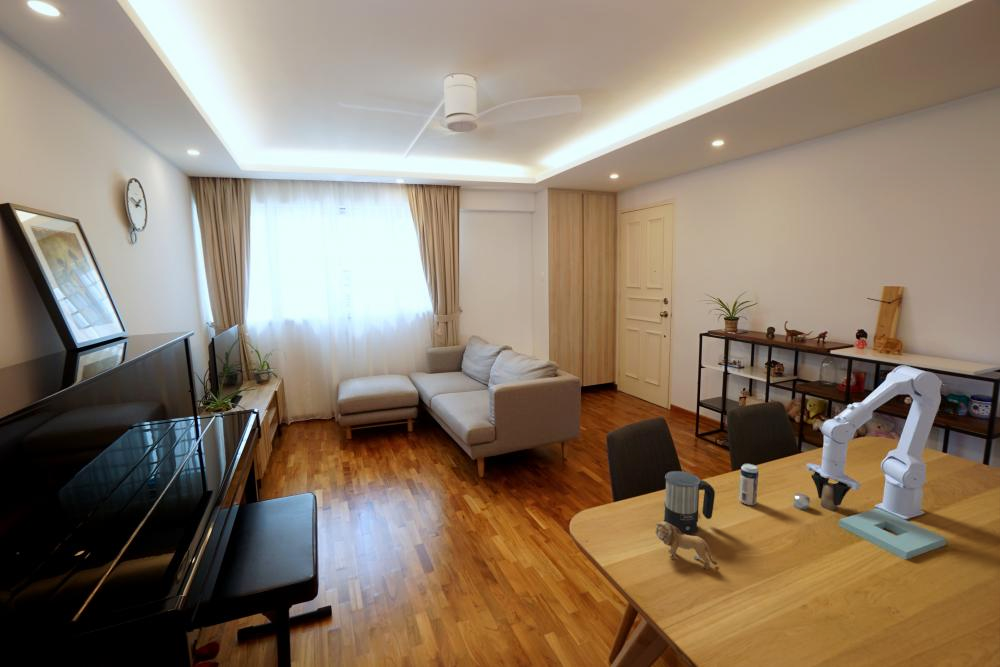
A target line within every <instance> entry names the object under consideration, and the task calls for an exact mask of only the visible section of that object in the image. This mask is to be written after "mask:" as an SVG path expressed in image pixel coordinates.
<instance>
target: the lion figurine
mask: <svg viewBox="0 0 1000 667" xmlns="http://www.w3.org/2000/svg"><path fill="white" fill-rule="evenodd" d="M655 535H656V536H657V538H658V539H659V541H662V542H663V544H664V545H666V546H668V547H670V548H669V549H668V552H670V553H669V554H671V555H669V559H670V558H671V560H672V559H673V560H675V559H676V557H677V550H678V548H680V549H682V550H693V549H694V551H695V552H696V554H697V555H696V554H695V555H694V556H693V559H695V560H697V559H698V560H700V559H701V560H702V561H703V562H704V563H705V564H703V568H704V569H705V568H706V569H705V570H710V568H711V563H712V565H715V566H716V565H718V563H717V561H715V560H713V558H712V555H711V554H712V553H711V550H710V547H709V545H708V543H707V542H706V541H705V540H704V539H703V538H702V537H700V536H696V535H686V534H683V533H682V532H681V531H680V530H679V529H678V528H676V527H675V526H673V525H672V524H670V523H668V522H665V521H664V520H661V521H659V522H658V523H656V528H655ZM706 551H707V552H706ZM706 553H707V555H708V556H707V555H706ZM710 562H711V563H710Z"/></svg>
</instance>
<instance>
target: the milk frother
mask: <svg viewBox="0 0 1000 667" xmlns="http://www.w3.org/2000/svg"><path fill="white" fill-rule="evenodd" d="M664 479H665V496H664V497H665V501H664V504H663V505H664V517H663V518H664V519H663V521H665V522H668V523H670V524H672V525H673V526H675V527H676V528H678V529H679V530H680V531H681V532H682V533H683V534H686V535H690V536H692V535H694V534H696V533H697V532H698V530H699V529H698V522H699V506H700V504H699V502H700V500H699V498H700V491H704V492H703V501H702V502H703V503H702V515H703V516H704V518H706V519H707V520H711V519H712V517H713V512H714V505H715V497H716V496H715V495H716V491H715V489H714V488H713V486H712V485H711V484H710V483H709V482H707V481H706V480H702V479H700V478H699V477H698V476H697V475H695V474H693V473H691V472H687V471H680V470H677V471H676V470H674V471H673V470H671V471H669V472H667V473H666V474H665V476H664ZM691 534H692V535H691Z"/></svg>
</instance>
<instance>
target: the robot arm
mask: <svg viewBox="0 0 1000 667" xmlns="http://www.w3.org/2000/svg"><path fill="white" fill-rule="evenodd" d="M942 384H943V381H942V380H941V379H940V378H939V377H938V376H937V374H935V373H934V372H931V371H925V370H923V369H922V370H921V369H918V368H915V367H911V366H910V365H905V364H903V365H898V366H897V367H895V368H894V369H893V370H892V371H891V372H889V373H887V375H886V377H885V380H884V381H883V382H882V383H881V384H880V385H879V386H878V387H877V388H876V389H874V390H873V391H872V392H871V393H869V395H868V396H867V397H865V399H863V400H862V401H861V402H853V403H852V404H851V403H849V404H847V406H846V407H847V408H845V409H843V411H841V412H840V413H839V414H838V415H835V416H834V417H833V418H831V419H827V420H825V421H824V422H823V424H822V426H820V427H819V428H820V431H821V433H822V435H823V445H822V446H823V448H822V456H821V457H822V458H821V463H820V464H821V465H819V464H815V463H813V462H809V463H806V466H805V467H806V469H805V470H807V471H808V472H809V471H811V472H813V474H811V479H812V480H813V482H814V485H815V488H816V491H817V497H818V498H819V499H820V500H821V498H822V488H823V483H829V480H833V481H835V482H836V483H833V488H834V505H835V506H837V507H838V506H840V505H841V504H842V502H843V499H844V498H845V496H846V495H847V493H849V491H850V490H851V489H852V490H854V491H857V490H860V489H861V482H859V481H858V480H855V479H854V478H851V477H850V476H849V475H846V474H845V471H846V470H845V469H846V463H847V462H846V461H847V452H848V443H849V442H850V441H853V439H854V437H855V433H856V432H857V430H858V429H859V428H861V427H862V426H863V425H864V424H866V423H867V422H868V421H869V420H871V419H872V418H873V411H875V410H877V408H879V407H881V406H882V405H883V404H886V402H887V403H888V401H890V400H891V399H893V398H894V397H896V396H897V395H909V396H910V397H911V398H912V403H911V406H910V409H909V412H908V415H907V418H906V421H905V424H904V426H903V429H902V432H901V435H900V438H899V441H898V444H897V447H896V448H894V449H892V450H889V451H888V452H887V455H886V457H885V458H884V459H883V460H882V461H881V462H880V469H881V471H882V472H883V474H884V478H885V481H884V482H885V483H884V488H883V489H884V490H883V495H882V496H883V497H882V502H880V503H877V504H875V505H874V506H875V508H879V509H881V510H883V511H886V512H888V513H890V514H892V515H895V516H897V517H899V518H902V519H904V520H908V519H911V518H914V517H918V516H921V515H924V514H925V511H923V510H922V504H923V495H924V491H923V488H922V487H923V486H924V485H925V483H926V481H927V476H926V475H927V474H926V470H927V464H926V463H925V461H924V460H923V457H922V455H923V451H924V450H925V446H926V445H927V444H926V443H927V441H928V438H929V435H930V433H931V429H932V426H933V424H934V420H935V419H936V418H935V417H936V416H937V413H938V409H939V407H940V404H941V402H942V401H941V400H942V396H941V395H942V394H941V387H942Z"/></svg>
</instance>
